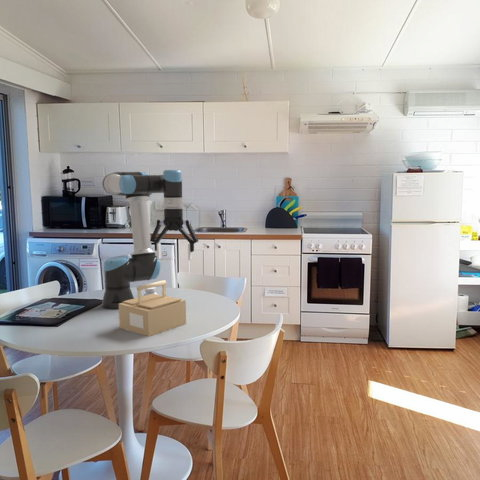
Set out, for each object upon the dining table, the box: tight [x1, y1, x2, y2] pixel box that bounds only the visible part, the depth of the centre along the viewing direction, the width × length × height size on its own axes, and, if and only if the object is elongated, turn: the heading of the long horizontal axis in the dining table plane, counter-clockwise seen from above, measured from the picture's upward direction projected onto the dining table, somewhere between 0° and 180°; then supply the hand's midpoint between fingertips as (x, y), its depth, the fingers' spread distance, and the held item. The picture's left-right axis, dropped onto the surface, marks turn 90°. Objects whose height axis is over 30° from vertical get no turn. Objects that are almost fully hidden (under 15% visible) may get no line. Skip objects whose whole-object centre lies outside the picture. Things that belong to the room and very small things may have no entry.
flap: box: [136, 279, 183, 309], centre depth 185 cm, size 10×16×8 cm, turn 142°
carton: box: [118, 293, 187, 337], centre depth 189 cm, size 18×20×11 cm
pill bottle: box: [143, 287, 158, 296], centre depth 207 cm, size 6×6×12 cm
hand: (174, 259), depth 191 cm, fingers open, 13 cm apart
